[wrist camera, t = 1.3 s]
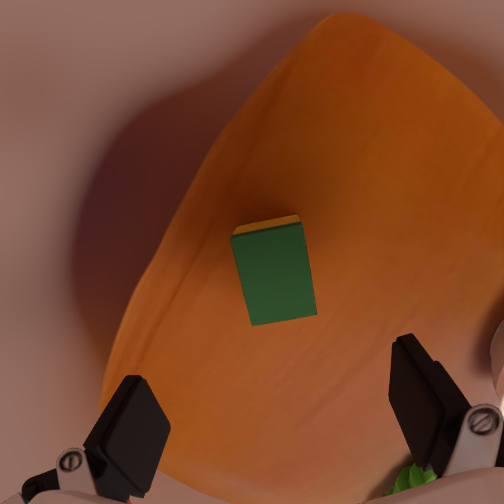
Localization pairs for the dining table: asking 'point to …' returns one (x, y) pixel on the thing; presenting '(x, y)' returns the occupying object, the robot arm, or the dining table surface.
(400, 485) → the decorative tree
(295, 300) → the sponge
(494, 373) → the bowl
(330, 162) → the dining table surface
